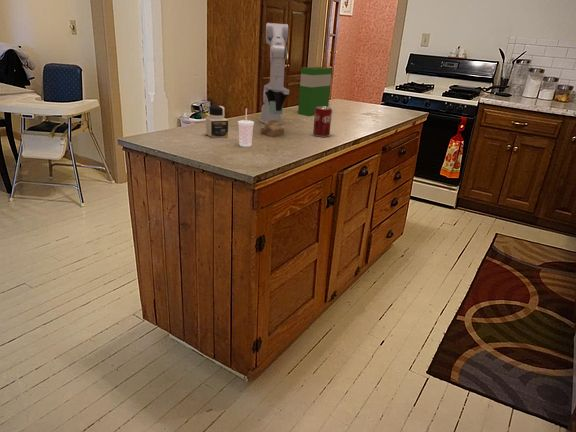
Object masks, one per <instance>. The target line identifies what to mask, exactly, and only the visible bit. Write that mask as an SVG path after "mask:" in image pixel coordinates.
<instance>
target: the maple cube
mask: <svg viewBox="0 0 576 432" xmlns="http://www.w3.org/2000/svg"><path fill="white" fill-rule="evenodd" d="M282 123H283V122H282V121H281V120H280V121H276V120H269V121H265V123H264V124H265V125H264V127H265V128H267V129H271V130H277V129H281V128H282V125H283V124H282ZM282 129H283V128H282Z"/></svg>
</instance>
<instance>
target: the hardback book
mask: <svg viewBox="0 0 576 432" xmlns="http://www.w3.org/2000/svg"><path fill="white" fill-rule="evenodd" d="M332 71H333V67H331V68H329V67H327V68H326V67H325V68H323V66H314V67H313V66H312V67H311V66H310V67H301V68H300V79H299V80H300V81H299V82H300V83H299V94H298V97H299V98H298V108H297V109H298V110H297V115H301V116H305V117H313V116H314V117H315V108H316V107H329V103H330V95H331V94H330V93H331V92H330V91H331V83H332Z"/></svg>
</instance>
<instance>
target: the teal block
mask: <svg viewBox="0 0 576 432" xmlns="http://www.w3.org/2000/svg"><path fill="white" fill-rule="evenodd" d="M283 109H284V105H283V106H282V109H281V111H276V101H270V105H269V113H271V114H274V115H278V114H280V115H283Z"/></svg>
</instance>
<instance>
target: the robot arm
mask: <svg viewBox="0 0 576 432" xmlns="http://www.w3.org/2000/svg"><path fill="white" fill-rule="evenodd" d="M288 36H289V25H288V23H286V24H285V23H272V22H266V24H265V43H266V44H267V45H269V46H270V49H269V61H270V66H269V67H270V73H269V82H268V83H266V84H264V85H263V93H262V94H263V95H262V97H263V98H262V100H263V101H262V102H263V103H264V104H263V105H261V110H260V111H261V112H260V120H259V122H260V123H263V124H265V121H269V120H276V121H281V114H278V115H274V114H271V113H269V105H270V101H276V111H281V109H282V106H283V107H284V103H285V101H286V99H287V97H288V95H290V89H289V88H286V87H285V85H284V82H285V68H286V67H285V66H286V65H285V63H286V59H287V55H288V53H287V52H288V51H287V50H288V49H287V45H286V44H287V42H288V38H289V37H288ZM284 124H285V123H284V122H282V125H284Z"/></svg>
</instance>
